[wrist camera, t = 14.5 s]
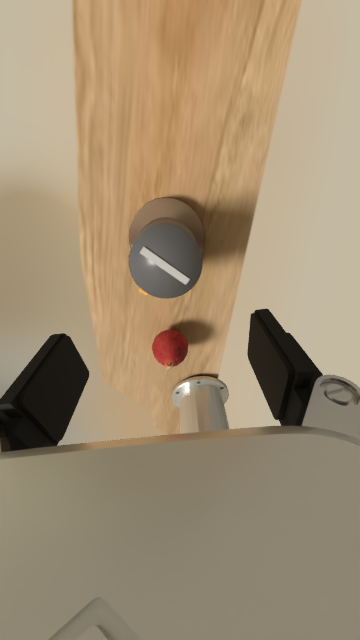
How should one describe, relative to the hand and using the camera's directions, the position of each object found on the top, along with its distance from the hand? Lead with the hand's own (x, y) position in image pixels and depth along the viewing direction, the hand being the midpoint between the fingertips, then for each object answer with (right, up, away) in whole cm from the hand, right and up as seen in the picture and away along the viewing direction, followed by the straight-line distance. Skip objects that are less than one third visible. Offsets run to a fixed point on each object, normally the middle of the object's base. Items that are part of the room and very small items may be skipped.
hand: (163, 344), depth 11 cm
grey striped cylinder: (-1, +9, +13) cm, 15 cm away
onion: (-1, -1, +26) cm, 26 cm away
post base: (-1, +12, +16) cm, 21 cm away
